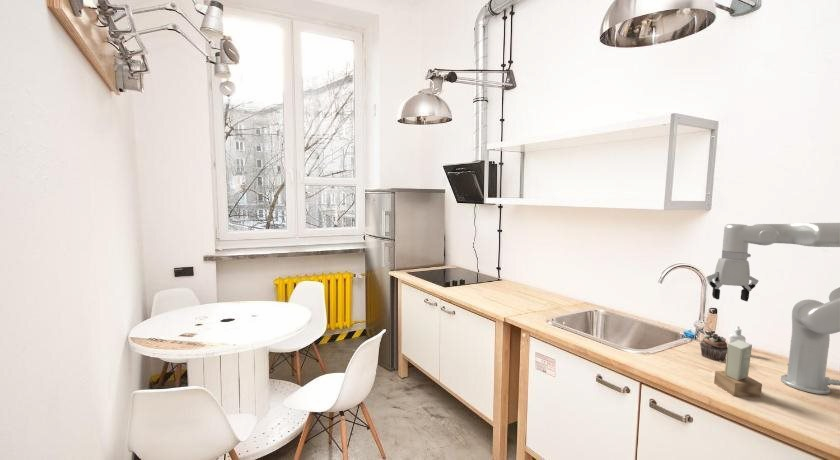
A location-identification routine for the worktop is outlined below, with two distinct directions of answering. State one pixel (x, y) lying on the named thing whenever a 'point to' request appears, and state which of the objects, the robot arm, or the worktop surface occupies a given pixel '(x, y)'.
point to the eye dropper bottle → (736, 335)
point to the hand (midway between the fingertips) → (729, 299)
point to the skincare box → (738, 359)
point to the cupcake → (714, 347)
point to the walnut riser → (738, 385)
